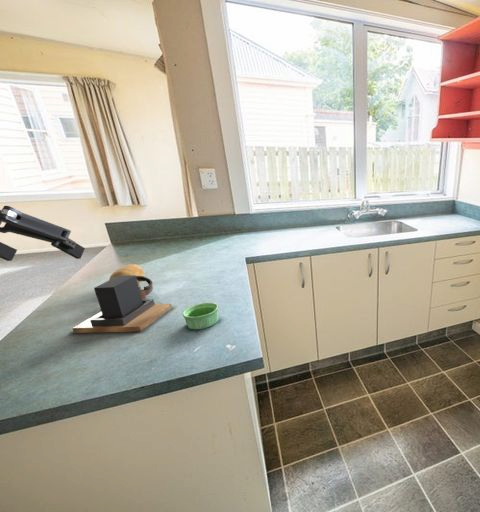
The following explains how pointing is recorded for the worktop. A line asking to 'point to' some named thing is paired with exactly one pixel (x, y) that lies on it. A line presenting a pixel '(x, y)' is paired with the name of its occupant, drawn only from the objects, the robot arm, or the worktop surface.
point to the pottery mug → (147, 288)
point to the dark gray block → (119, 296)
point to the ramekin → (201, 315)
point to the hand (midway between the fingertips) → (47, 254)
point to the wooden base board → (125, 319)
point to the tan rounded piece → (128, 271)
